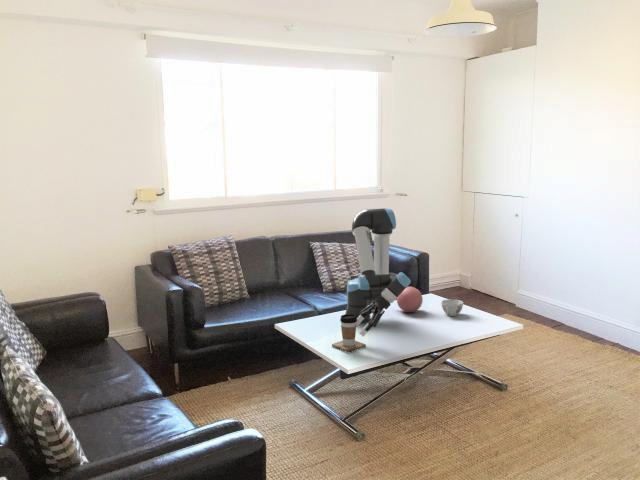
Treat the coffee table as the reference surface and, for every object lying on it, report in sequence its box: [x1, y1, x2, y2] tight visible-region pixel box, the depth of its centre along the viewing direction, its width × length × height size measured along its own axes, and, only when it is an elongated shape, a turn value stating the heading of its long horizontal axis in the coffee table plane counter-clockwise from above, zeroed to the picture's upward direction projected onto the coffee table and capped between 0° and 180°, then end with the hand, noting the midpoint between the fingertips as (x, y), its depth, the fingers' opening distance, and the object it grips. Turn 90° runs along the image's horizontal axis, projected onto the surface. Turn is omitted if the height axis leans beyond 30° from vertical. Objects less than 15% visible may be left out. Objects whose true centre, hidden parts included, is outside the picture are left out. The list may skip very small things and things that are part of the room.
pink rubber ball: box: [396, 286, 424, 313], centre depth 324 cm, size 15×20×15 cm
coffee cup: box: [339, 313, 357, 346], centre depth 268 cm, size 8×8×15 cm
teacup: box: [440, 299, 464, 317], centre depth 315 cm, size 15×12×8 cm
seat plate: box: [331, 340, 366, 353], centre depth 270 cm, size 12×12×1 cm
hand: (357, 330), depth 269 cm, fingers open, 13 cm apart
